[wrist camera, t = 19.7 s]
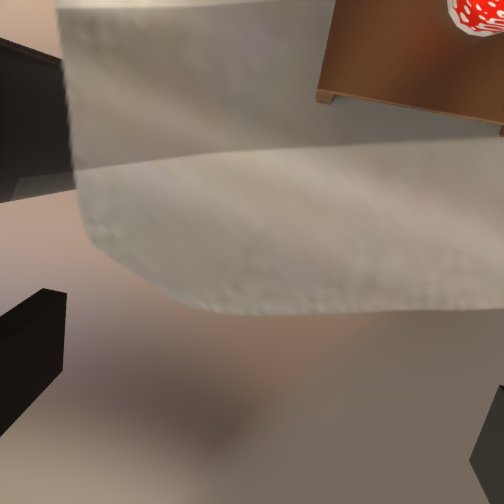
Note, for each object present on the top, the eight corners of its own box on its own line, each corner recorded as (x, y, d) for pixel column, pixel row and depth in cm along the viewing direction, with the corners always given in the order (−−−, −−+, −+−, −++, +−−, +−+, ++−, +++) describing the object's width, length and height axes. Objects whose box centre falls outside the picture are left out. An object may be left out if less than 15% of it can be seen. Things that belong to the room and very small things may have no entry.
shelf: (315, 102, 37) (318, 83, 26) (353, -77, 34) (374, -184, 23) (514, 139, 36) (603, 136, 25) (572, -43, 33) (705, -138, 22)
